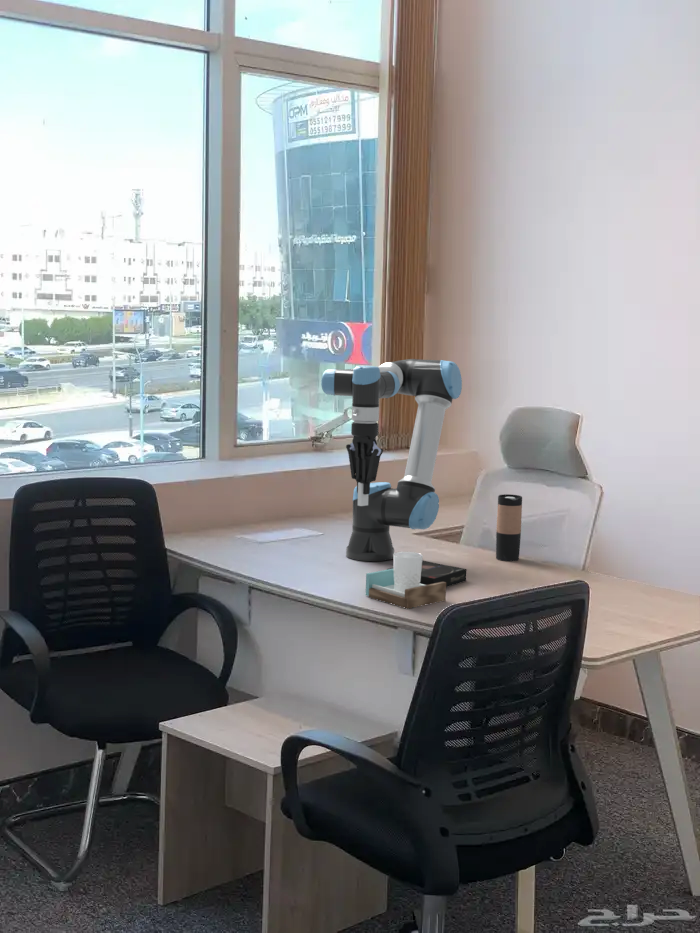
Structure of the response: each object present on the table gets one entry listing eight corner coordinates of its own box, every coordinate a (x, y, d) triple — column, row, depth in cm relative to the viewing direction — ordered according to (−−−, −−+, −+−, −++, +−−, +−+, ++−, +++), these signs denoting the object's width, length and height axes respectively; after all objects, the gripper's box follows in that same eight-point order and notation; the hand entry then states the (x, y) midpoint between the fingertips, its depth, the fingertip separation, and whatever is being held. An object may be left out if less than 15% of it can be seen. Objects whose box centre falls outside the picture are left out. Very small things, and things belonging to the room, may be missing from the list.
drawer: (406, 589, 324) (407, 572, 324) (445, 600, 314) (446, 582, 313) (368, 597, 315) (369, 579, 314) (407, 608, 304) (408, 590, 303)
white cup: (387, 588, 316) (388, 552, 315) (414, 586, 319) (415, 550, 318) (399, 595, 309) (400, 558, 308) (426, 593, 312) (427, 557, 311)
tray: (402, 587, 325) (403, 566, 324) (440, 598, 314) (441, 576, 314) (365, 595, 316) (366, 573, 315) (404, 606, 305) (404, 584, 304)
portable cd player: (417, 572, 347) (418, 559, 347) (466, 582, 337) (466, 569, 336) (384, 582, 334) (384, 568, 334) (433, 592, 324) (433, 578, 323)
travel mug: (501, 555, 372) (503, 493, 369) (523, 558, 368) (526, 496, 366) (491, 559, 366) (493, 496, 363) (513, 562, 362) (516, 499, 359)
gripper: (339, 420, 327) (337, 503, 330) (371, 424, 317) (368, 510, 320) (359, 418, 332) (357, 500, 335) (391, 423, 322) (388, 507, 325)
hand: (362, 505), depth 328 cm, fingers closed
